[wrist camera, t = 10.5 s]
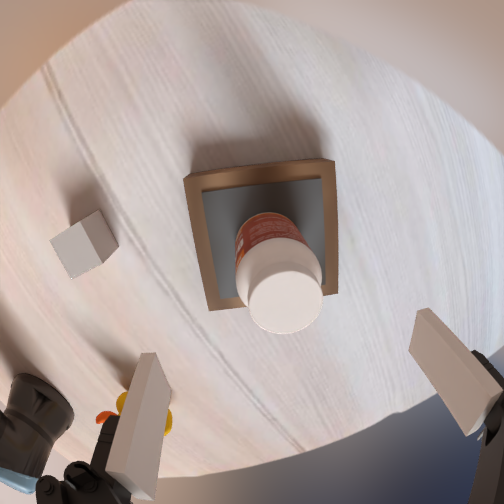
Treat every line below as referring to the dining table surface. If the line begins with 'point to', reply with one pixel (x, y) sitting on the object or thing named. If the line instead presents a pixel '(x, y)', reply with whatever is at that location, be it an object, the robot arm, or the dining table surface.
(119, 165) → the dining table surface
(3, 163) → the dining table surface
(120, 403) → the duckling
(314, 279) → the pill bottle
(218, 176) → the podium
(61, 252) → the stone block
